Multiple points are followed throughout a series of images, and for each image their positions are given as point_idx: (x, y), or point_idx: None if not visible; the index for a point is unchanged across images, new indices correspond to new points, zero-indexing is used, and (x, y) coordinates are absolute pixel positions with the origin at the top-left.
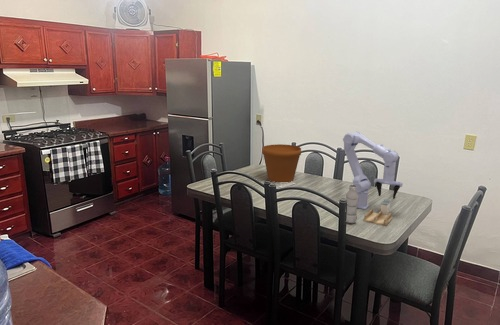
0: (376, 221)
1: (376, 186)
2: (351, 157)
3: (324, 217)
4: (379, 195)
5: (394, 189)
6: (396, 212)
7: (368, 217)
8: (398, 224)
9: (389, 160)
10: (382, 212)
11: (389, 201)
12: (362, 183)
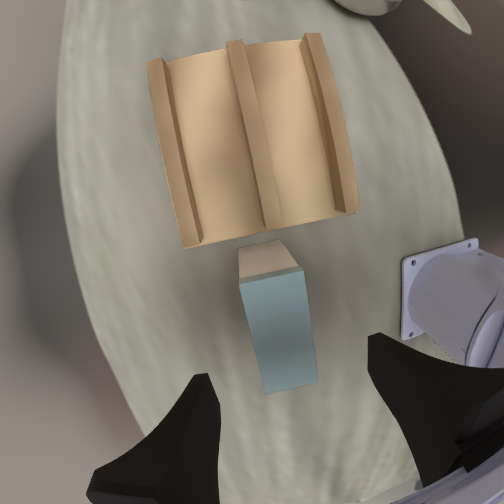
0: (226, 62)
1: (490, 369)
2: None
3: (455, 9)
4: (375, 337)
5: (159, 465)
6: (223, 363)
7: (309, 91)
8: (106, 170)
9: None
10: (270, 247)
11: (263, 370)
12: None
